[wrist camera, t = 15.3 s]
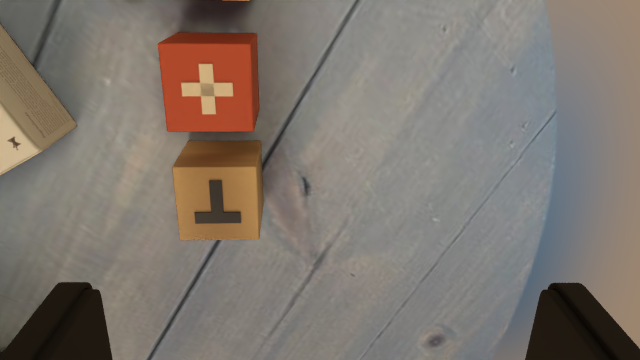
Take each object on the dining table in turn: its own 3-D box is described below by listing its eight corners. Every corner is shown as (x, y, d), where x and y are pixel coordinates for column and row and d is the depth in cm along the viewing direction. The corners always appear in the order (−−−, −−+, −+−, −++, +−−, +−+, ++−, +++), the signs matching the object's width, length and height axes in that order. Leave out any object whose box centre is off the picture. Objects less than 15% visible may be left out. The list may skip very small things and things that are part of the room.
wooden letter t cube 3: (261, 140, 32) (256, 167, 27) (263, 205, 34) (259, 240, 29) (188, 140, 32) (171, 167, 27) (193, 206, 33) (179, 241, 29)
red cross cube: (256, 32, 29) (250, 43, 25) (259, 109, 31) (253, 132, 27) (176, 32, 29) (156, 43, 25) (184, 109, 31) (166, 132, 26)
